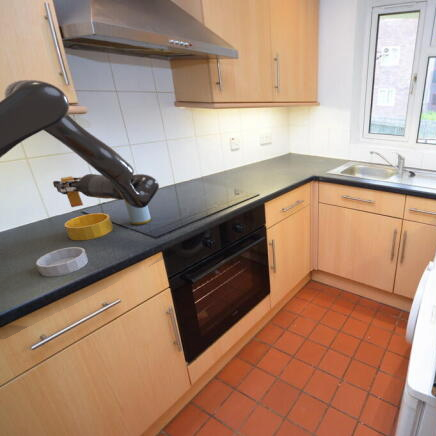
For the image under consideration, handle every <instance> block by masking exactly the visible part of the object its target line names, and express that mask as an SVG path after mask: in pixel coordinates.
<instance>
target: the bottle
mask: <svg viewBox="0 0 436 436" xmlns="http://www.w3.org/2000/svg"><path fill="white" fill-rule="evenodd" d="M124 204H125V207H126V211H127V214H128V217H129V221H130V224H132V225H134V226H142V225H146V224H148V223H149V222H150V221H151V219H152V218H151V215H150V214H151V213H150V209H149V205H147V206H146V207H144V208H135V207H133V206H131V205H129V204H128V203H127V202H126V201H125V200H124Z"/></svg>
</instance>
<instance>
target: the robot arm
mask: <svg viewBox="0 0 436 436" xmlns="http://www.w3.org/2000/svg"><path fill="white" fill-rule="evenodd" d="M69 110H70V102H69V99H68V96H67V95H66V94H65V92H64V91H62V89H61V88H59V87H58V86H56V85H54V84H51V83H50V82H46V81H42V80H37V79H23V80H17V81H14V82H11V83H10V84H8V86H6V88H5V90H4V98H3V99H2V100H0V159H1V158H2V157H3V156H4V155H6V154H7V153H9V152H10V151H11V150H12V149H14V148H15V147H16V146H17V145H19V144H20V143H22V142H23V141H25V140H27V139H29V138H31V137H33V136H34V135H37V134H38V133H40V132H42V131H44V132H45V133H47V134H49V135H50V136H52V137H53V138H54V139H56V140H57V141H59V142H61V143H62V144H63V145H64V146H66V147H67V148H68V149H70V150H71V151H72V152H73V153H75V154H76V155H77V156H78V157H79V158H81V159H82V160H83V161H84V162H86V164H88V165H89V166H91V167H92V168H93V169H94V170H95V171H96V172H98V173H99V174H96V173H95V174H94V173H87V174H85V175H83V176H78V177H76V176H75V177H73V176H72V177H73V178H74V180H69V181H66V182H62V181H61V180H54V181H52V184H53V185H52V186H53V187H54V188H56V190H57V191H56V192H57V193H60V194H62V195H67V194H68V191H78V192H79V193H82V194H83V195H84V196H85V197H89V198H96V199H105V200H107V199H111V200H120V201H124V202H125V201H126V202H127V203H128V204H129V205H131V206H133V207H135V208H144V207H146V206H149V203H150V202H151V201H152V199H153V198H154V197H155V196H156V194H157V192H158V191H159V189H160V183H159V182H158V180H157V179H156V178H155V177H153V176H151V175H148V174H144V173H137V174H134V172H135V169H134V168H133V167H134V166H132V165H131V164H130V163H128V161H127V160H126V159H124V158H123V157H122V156H121V155H120V154H119V153H118V152H116V151H115V149H113V148H112V147H111V146H109V145H108V144H106V143H105V142H104V141H102V140H100V139H99V138H97V137H96V136H95V135H93V133H91V132H89V131H88V130H86V129H85V128H84V127H83V126H81V125H80V123H78V122H77V121H75V119H73V118H72V116H70V115H69ZM65 184H66V185H67V187H66V185H65Z"/></svg>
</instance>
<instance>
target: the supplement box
mask: <svg viewBox="0 0 436 436" xmlns="http://www.w3.org/2000/svg"><path fill="white" fill-rule="evenodd" d="M69 180H74V178H73V176H72V175H70V176H64V177H60V181H62V182H66V181H69ZM65 185H66V184H65ZM66 187H67V185H66ZM66 197H67V200H68V202H69V205H70V207H71V208H76V207H82V206H84V202H83V201H82V198H81V195H80V192H78V191H68V194H66Z"/></svg>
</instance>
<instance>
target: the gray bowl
mask: <svg viewBox="0 0 436 436" xmlns="http://www.w3.org/2000/svg"><path fill="white" fill-rule="evenodd" d="M88 262H89V257H88V255H87V252H86V250H85V249H84V248H83V247H81V246H79V247H78V246H73V247H72V246H71V247H64V248H60V249H57V250H53V251H50V252H47V253H46V254H44V255H42V256H40V257H39V258H38V259H37V260H36V263H35V265H36V267H37V269H38V271H39V273H40V274H41V276H43V277H48V278H54V277H60V276H65V275H69V274H71V273H74V272H76V271H78V270H80V269H83V268H84V267H85V266H87V264H88Z"/></svg>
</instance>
